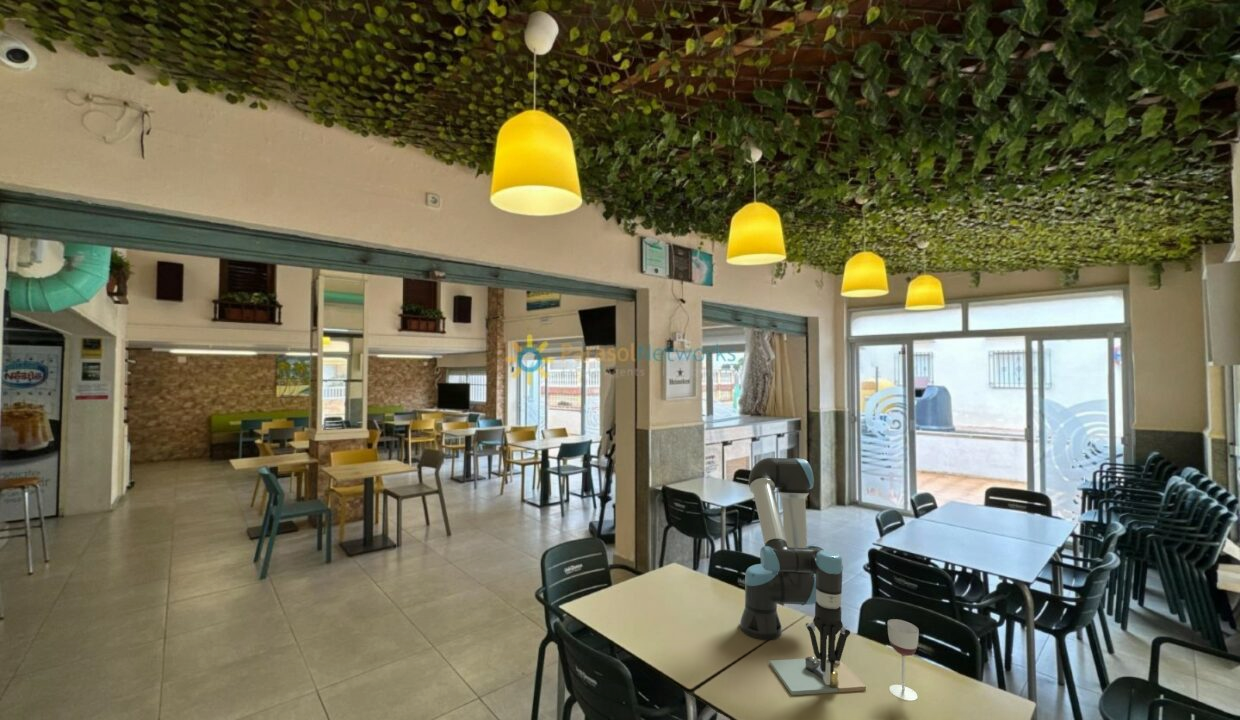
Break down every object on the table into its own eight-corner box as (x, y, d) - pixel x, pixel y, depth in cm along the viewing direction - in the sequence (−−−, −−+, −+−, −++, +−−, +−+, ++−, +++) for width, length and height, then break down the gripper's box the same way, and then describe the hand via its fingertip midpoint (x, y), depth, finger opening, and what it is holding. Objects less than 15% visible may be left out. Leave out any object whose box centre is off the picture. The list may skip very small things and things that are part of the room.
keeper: (822, 661, 164) (822, 652, 164) (836, 660, 164) (836, 651, 165) (825, 665, 162) (825, 655, 162) (840, 664, 162) (840, 654, 163)
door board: (769, 664, 164) (769, 660, 164) (837, 660, 167) (837, 656, 167) (791, 695, 148) (791, 691, 148) (865, 690, 151) (865, 686, 151)
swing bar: (802, 666, 161) (802, 653, 161) (813, 663, 162) (813, 651, 163) (830, 689, 149) (830, 675, 149) (841, 686, 150) (841, 673, 151)
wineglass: (904, 703, 145) (904, 635, 146) (881, 685, 153) (881, 621, 154) (925, 699, 147) (925, 631, 148) (902, 681, 156) (901, 617, 156)
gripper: (810, 607, 149) (808, 687, 147) (854, 611, 147) (852, 691, 146) (803, 596, 156) (801, 672, 155) (845, 600, 154) (844, 677, 153)
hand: (826, 681), depth 150 cm, fingers closed
